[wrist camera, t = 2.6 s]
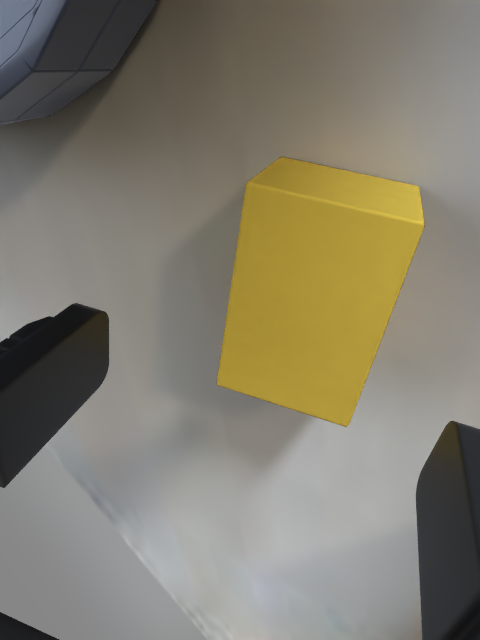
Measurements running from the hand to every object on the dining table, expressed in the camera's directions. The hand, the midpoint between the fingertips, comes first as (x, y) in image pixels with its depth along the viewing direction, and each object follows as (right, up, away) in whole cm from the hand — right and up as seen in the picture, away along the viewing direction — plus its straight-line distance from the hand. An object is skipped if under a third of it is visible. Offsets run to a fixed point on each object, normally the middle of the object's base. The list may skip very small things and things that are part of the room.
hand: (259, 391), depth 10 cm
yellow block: (+3, +4, +6) cm, 7 cm away
